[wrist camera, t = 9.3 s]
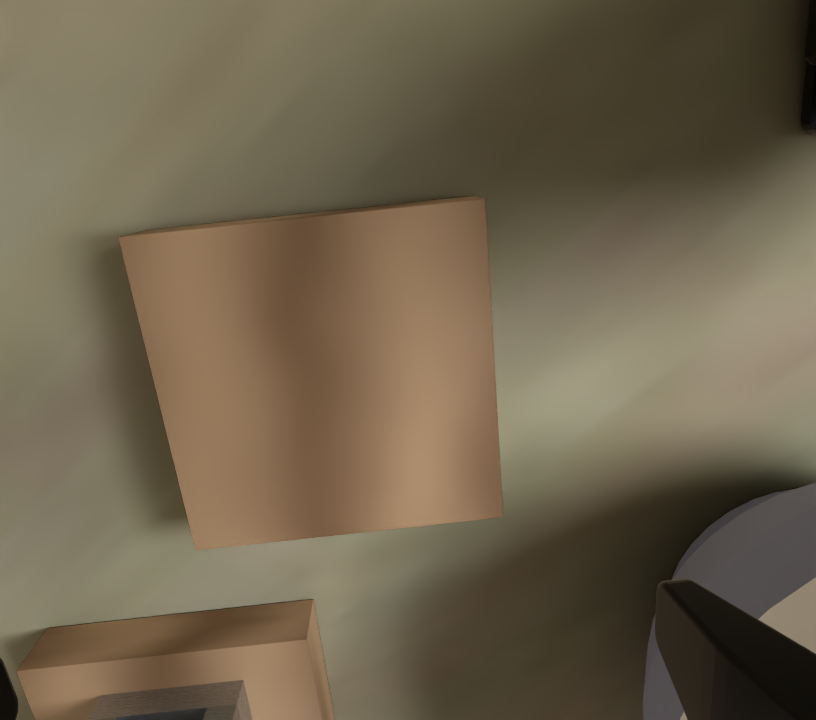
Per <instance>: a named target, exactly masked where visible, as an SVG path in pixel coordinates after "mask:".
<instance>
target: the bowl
mask: <svg viewBox="0 0 816 720" xmlns="http://www.w3.org/2000/svg"><path fill="white" fill-rule="evenodd" d="M677 579H690V580H692V581H694V582H696V583H698V584H699V585H701V586H703V587H704V588H706V589H708V590H709V591H711V592H713V593H714V594H716V595H718V596H719V597H721V598H723V599H725V600H726V601H728V602H730V603H731V604H733V605H735V606H736V607H738V608H740V609H741V610H743V611H745V612H746V613H748V614H750V615H752V616H753V617H755V618H757V619H758V620H760V621H762V622H763V623H765V624H767V625H768V626H770V627H772V628H773V629H775V630H777V631H779V632H780V633H782V634H784V635H785V636H787V637H789V638H790V639H792V640H794V641H795V642H797V643H799V644H800V645H802V646H804V647H806V648H807V649H809V650H811V651H812V652H814V653H816V483H812V484H809V485H806V486H803V487H800V488H797V489H792V490H786V491H780V492H774V493H771V494H768V495H765V496H762V497H759V498H756V499H753V500H750V501H748V502H747V503H745V504H743V505H741V506H739V507H737V508H735V509H733V510H731V511H729V512H728V513H726V514H725V515H723V516H722V517H721V518H719V519H718V520H717V521H715V522H714V523H713V524H711V525H710V526H709V527H708V528H707V529H706V530H705V531H704V532H703V533H702V534H701V535H700V536H699V537H698V538H697V539H696V540H695V541H694V542H693V543H692V544H691V545H690V547H689V548H688V550H687V551H686V553H685V554H684V556H683V557H682V558H681V560H680V561H679V563H678V566H677V568H676V570H675V572H674V575H673V577H672V579H671V580H677ZM643 720H687V717H686V715H685V712H684V710H683V707H682V705H681V702H680V700H679V698H678V695H677V693H676V690H675V688H674V685H673V683H672V680H671V678H670V676H669V673H668V671H667V668H666V666H665V663H664V661H663V658H662V656H661V653H660V651H659V648H658V645H657V642H656V637H655V616H654V618H653V622H652V627H651V632H650V637H649V642H648V648H647V659H646V671H645V682H644V694H643Z"/></svg>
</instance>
